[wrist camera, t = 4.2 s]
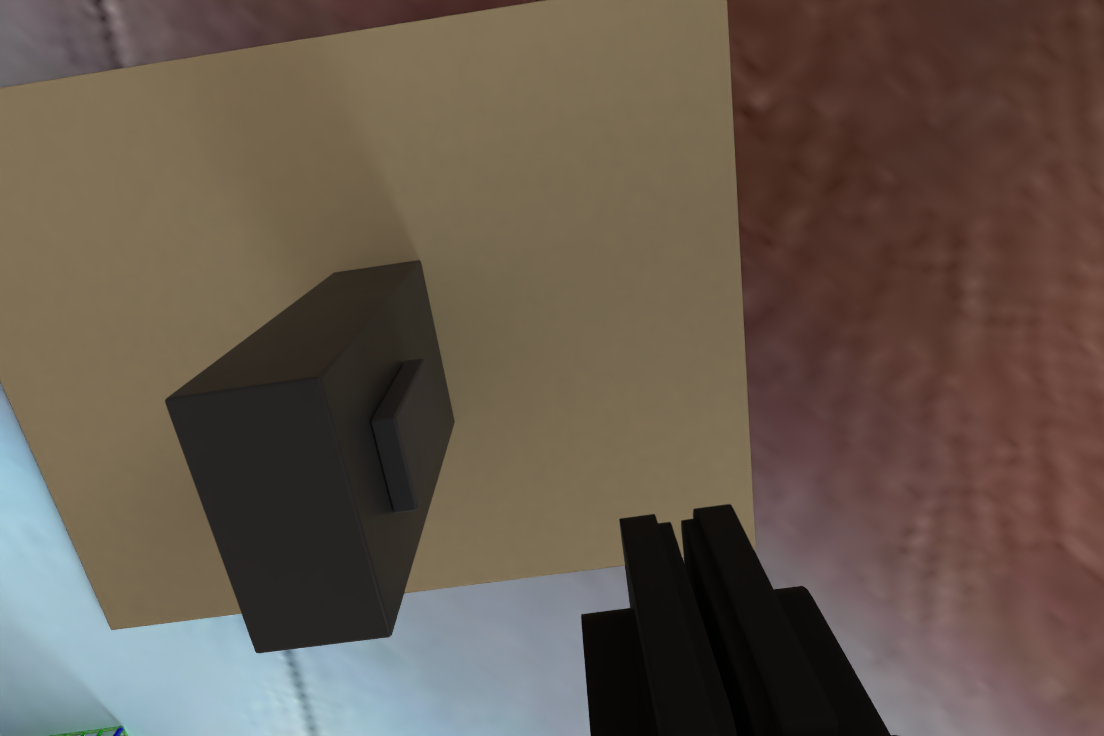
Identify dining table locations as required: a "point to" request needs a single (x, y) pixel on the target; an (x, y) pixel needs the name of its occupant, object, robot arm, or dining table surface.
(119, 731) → the house
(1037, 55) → the dining table surface
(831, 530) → the dining table surface
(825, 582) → the dining table surface
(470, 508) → the cork mat
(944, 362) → the dining table surface
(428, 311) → the block
